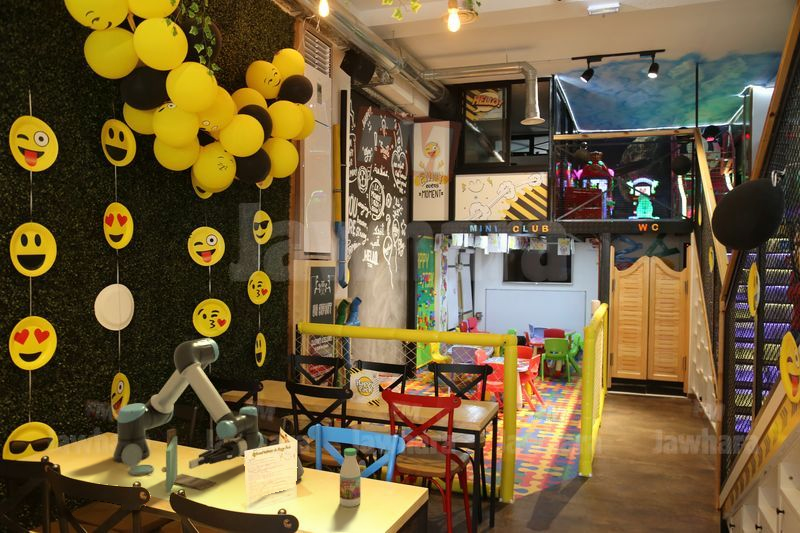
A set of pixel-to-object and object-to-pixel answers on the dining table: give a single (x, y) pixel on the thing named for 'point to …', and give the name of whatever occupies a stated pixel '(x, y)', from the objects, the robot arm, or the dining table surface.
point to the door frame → (186, 479)
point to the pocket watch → (135, 460)
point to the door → (171, 464)
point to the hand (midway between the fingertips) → (190, 465)
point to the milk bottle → (350, 480)
